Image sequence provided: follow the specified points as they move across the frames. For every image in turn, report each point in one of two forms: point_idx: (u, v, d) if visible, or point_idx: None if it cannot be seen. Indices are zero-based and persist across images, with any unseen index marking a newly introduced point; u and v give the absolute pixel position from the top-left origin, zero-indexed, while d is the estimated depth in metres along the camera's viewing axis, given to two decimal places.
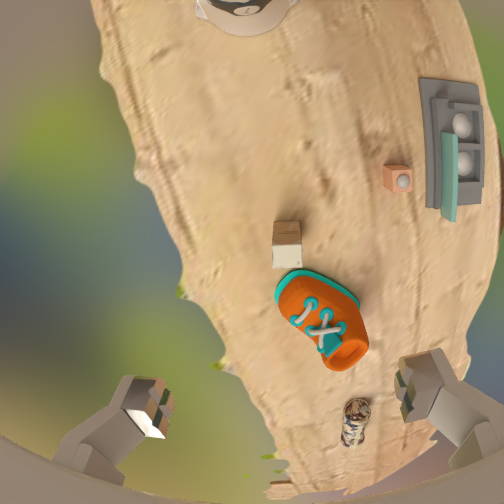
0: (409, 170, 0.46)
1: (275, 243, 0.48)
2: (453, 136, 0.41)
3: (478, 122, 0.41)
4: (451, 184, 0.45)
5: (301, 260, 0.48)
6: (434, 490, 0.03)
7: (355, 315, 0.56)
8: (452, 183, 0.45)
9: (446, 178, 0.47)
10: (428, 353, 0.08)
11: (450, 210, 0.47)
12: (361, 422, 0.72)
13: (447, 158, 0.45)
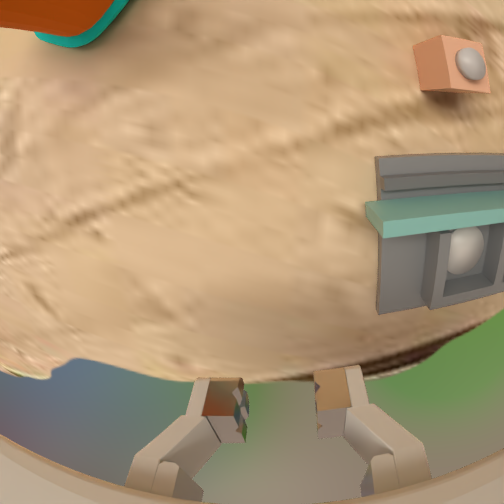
0: (487, 86, 0.13)
1: None
2: None
3: None
4: (466, 209, 0.17)
5: None
6: (434, 490, 0.03)
7: None
8: (471, 210, 0.17)
9: (460, 200, 0.19)
10: (342, 370, 0.08)
11: (409, 215, 0.18)
12: None
13: (496, 198, 0.18)
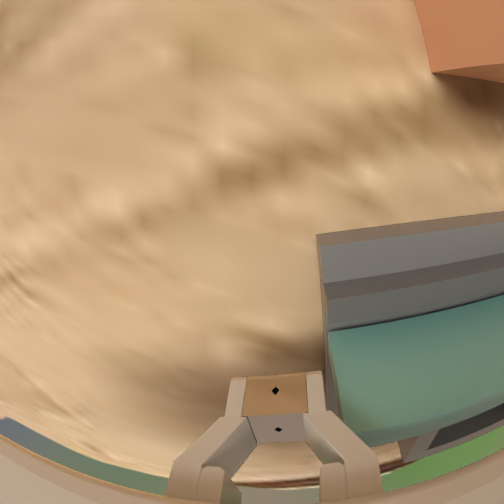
0: None
1: None
2: None
3: None
4: None
5: None
6: (434, 490, 0.03)
7: None
8: None
9: None
10: (303, 375, 0.08)
11: (416, 403, 0.07)
12: None
13: None
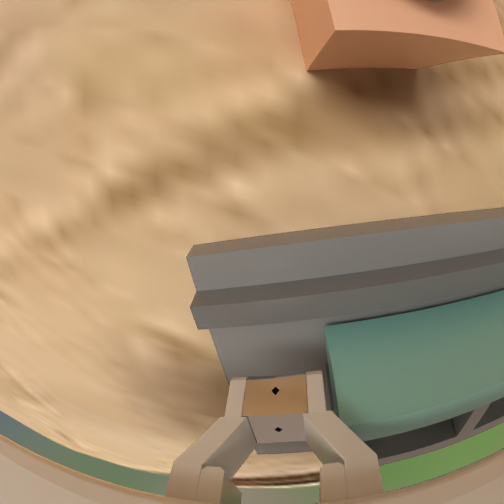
0: (496, 30, 0.03)
1: None
2: None
3: None
4: None
5: None
6: (434, 490, 0.03)
7: None
8: None
9: None
10: (303, 375, 0.08)
11: (412, 397, 0.07)
12: None
13: None
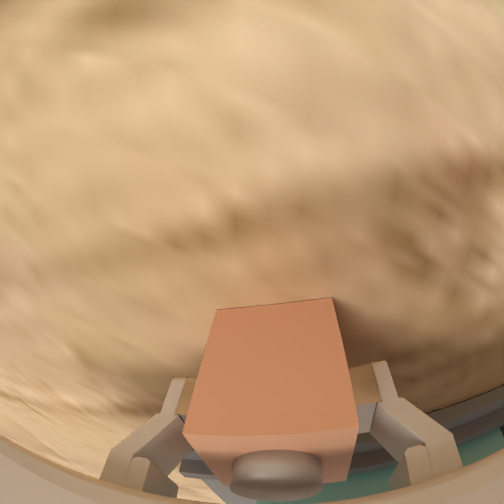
0: (342, 475, 0.07)
1: None
2: None
3: None
4: None
5: None
6: (434, 490, 0.03)
7: None
8: None
9: None
10: (370, 365, 0.08)
11: None
12: None
13: None
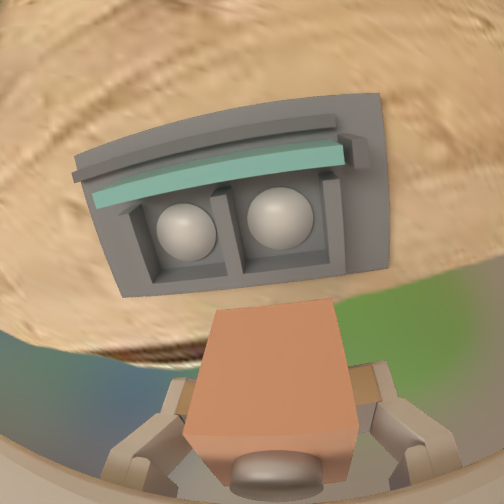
0: (342, 475, 0.07)
1: None
2: (336, 151, 0.16)
3: (299, 265, 0.23)
4: (187, 167, 0.18)
5: None
6: (434, 490, 0.03)
7: None
8: (190, 168, 0.18)
9: (204, 160, 0.20)
10: (370, 366, 0.08)
11: (119, 184, 0.19)
12: None
13: (262, 150, 0.19)
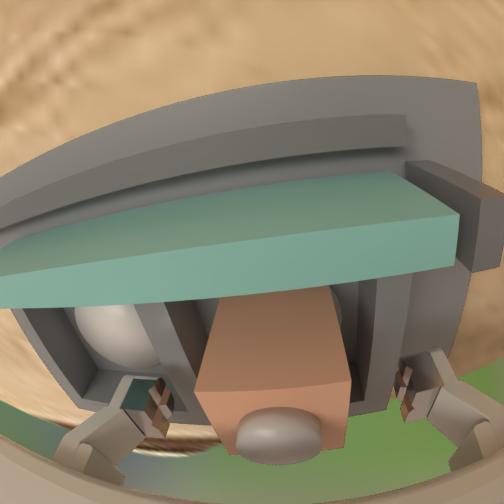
0: (339, 441, 0.08)
1: None
2: (442, 230, 0.05)
3: None
4: (61, 259, 0.07)
5: None
6: (434, 490, 0.03)
7: None
8: (63, 263, 0.07)
9: (113, 226, 0.09)
10: (428, 353, 0.08)
11: None
12: None
13: (236, 208, 0.08)
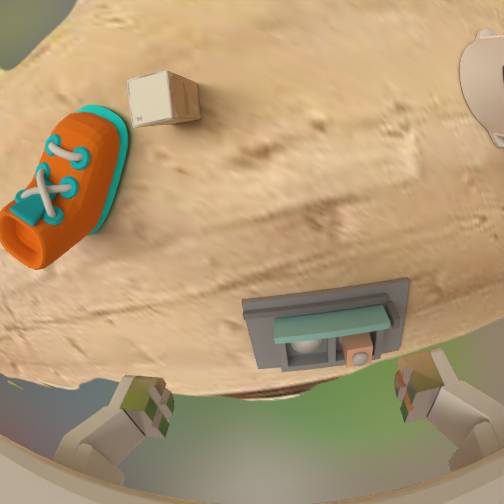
0: (370, 361, 0.42)
1: (169, 76, 0.23)
2: (387, 324, 0.39)
3: None
4: (325, 329, 0.40)
5: (143, 123, 0.25)
6: (434, 490, 0.03)
7: (77, 231, 0.33)
8: (327, 330, 0.40)
9: (328, 320, 0.42)
10: (428, 353, 0.08)
11: (289, 334, 0.41)
12: None
13: (355, 318, 0.41)
